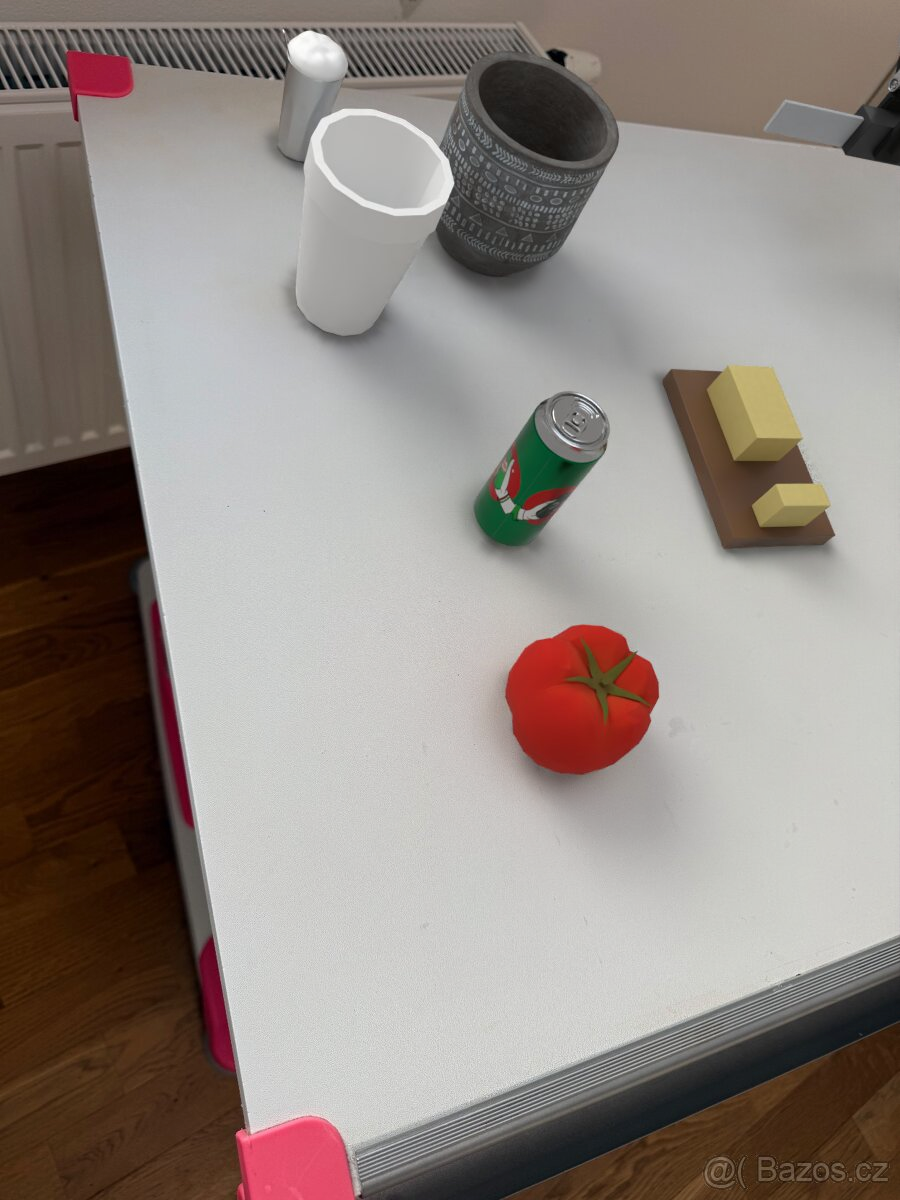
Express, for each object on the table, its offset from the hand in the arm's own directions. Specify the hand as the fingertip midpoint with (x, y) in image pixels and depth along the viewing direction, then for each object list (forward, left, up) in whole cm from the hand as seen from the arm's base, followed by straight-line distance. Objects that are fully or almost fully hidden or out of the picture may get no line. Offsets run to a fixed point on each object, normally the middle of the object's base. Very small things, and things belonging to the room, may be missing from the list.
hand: (879, 146), depth 89 cm
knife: (+4, 0, -1) cm, 4 cm away
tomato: (+43, +48, -10) cm, 65 cm away
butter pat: (+20, +34, -9) cm, 40 cm away
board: (+20, +28, -10) cm, 36 cm away
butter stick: (+20, +25, -9) cm, 33 cm away
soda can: (+43, +33, -10) cm, 55 cm away
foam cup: (+52, +14, -10) cm, 55 cm away
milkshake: (+53, -2, -10) cm, 54 cm away
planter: (+38, +6, -10) cm, 40 cm away
